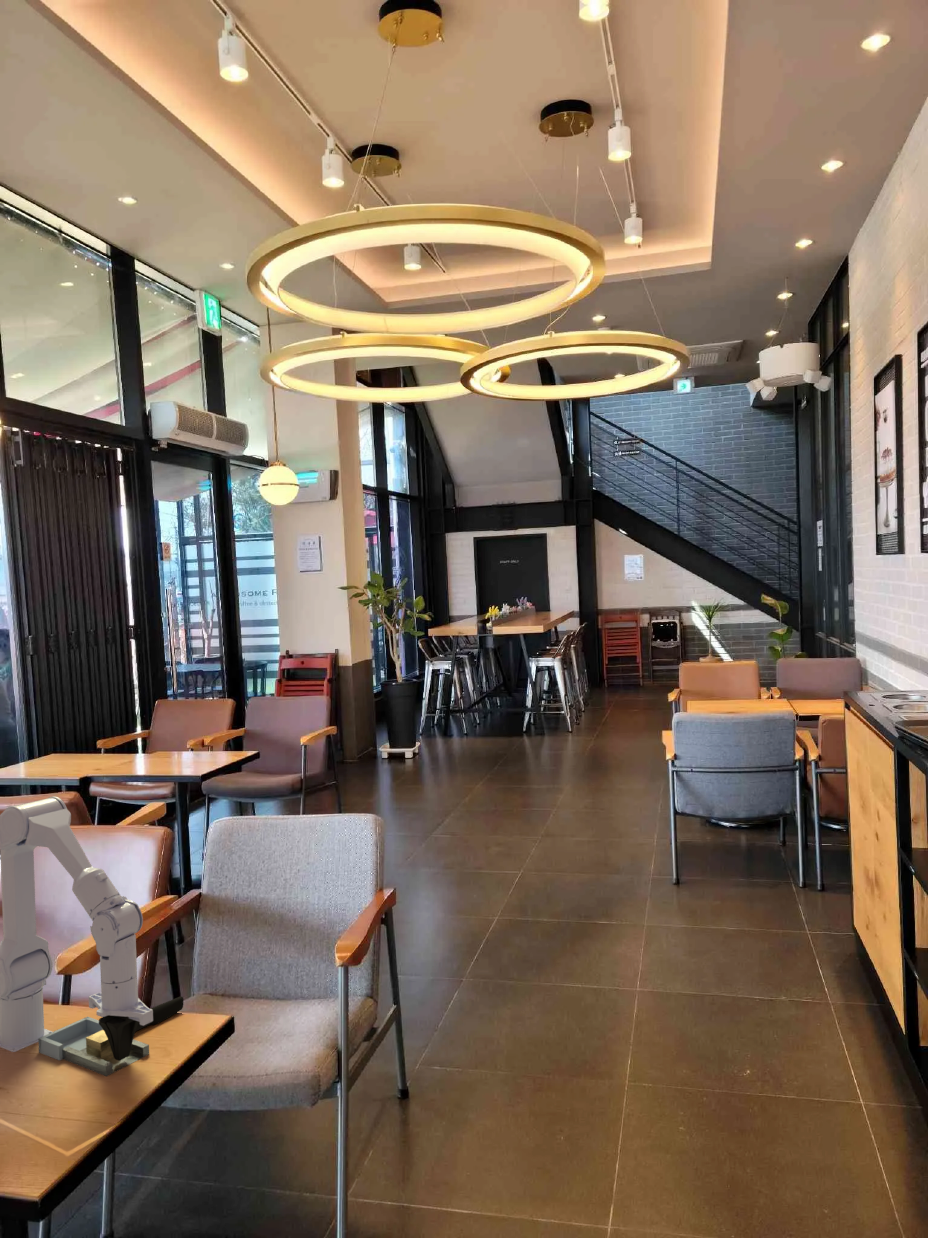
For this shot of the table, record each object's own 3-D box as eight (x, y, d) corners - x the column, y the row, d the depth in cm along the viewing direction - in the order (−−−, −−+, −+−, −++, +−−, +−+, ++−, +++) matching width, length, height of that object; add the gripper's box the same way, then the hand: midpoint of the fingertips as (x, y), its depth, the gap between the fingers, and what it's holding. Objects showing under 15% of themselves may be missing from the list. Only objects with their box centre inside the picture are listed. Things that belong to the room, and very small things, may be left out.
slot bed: (62, 1062, 153) (62, 1049, 153) (105, 1041, 160) (105, 1029, 160) (106, 1079, 146) (106, 1066, 146) (149, 1057, 153) (148, 1045, 153)
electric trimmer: (188, 1014, 170) (188, 997, 170) (114, 1046, 158) (114, 1028, 158) (176, 1010, 172) (176, 993, 172) (102, 1040, 160) (102, 1022, 160)
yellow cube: (86, 1058, 153) (85, 1037, 153) (107, 1048, 156) (106, 1028, 156) (101, 1063, 151) (100, 1043, 151) (121, 1053, 154) (120, 1033, 154)
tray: (39, 1055, 156) (38, 1038, 156) (88, 1032, 164) (87, 1016, 164) (59, 1063, 152) (58, 1046, 152) (108, 1040, 160) (108, 1023, 160)
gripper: (71, 977, 151) (74, 1057, 151) (126, 994, 143) (129, 1079, 144) (107, 963, 157) (110, 1040, 157) (162, 978, 149) (165, 1059, 149)
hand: (122, 1057), depth 151 cm, fingers closed
